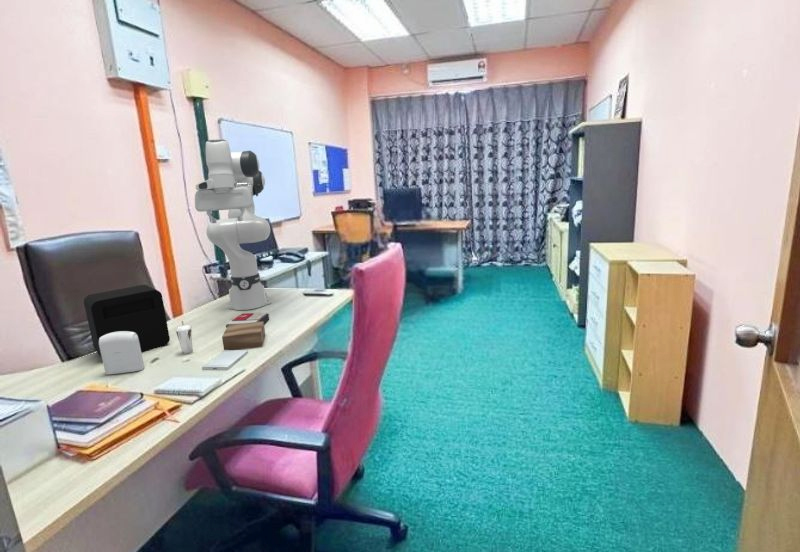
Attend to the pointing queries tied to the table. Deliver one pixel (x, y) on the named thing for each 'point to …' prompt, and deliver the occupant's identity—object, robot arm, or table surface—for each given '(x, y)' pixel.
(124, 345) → the photo printer
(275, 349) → the table surface
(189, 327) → the milkshake
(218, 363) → the hard drive
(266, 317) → the book
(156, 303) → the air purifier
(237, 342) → the walnut base
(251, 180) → the robot arm
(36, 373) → the table surface
